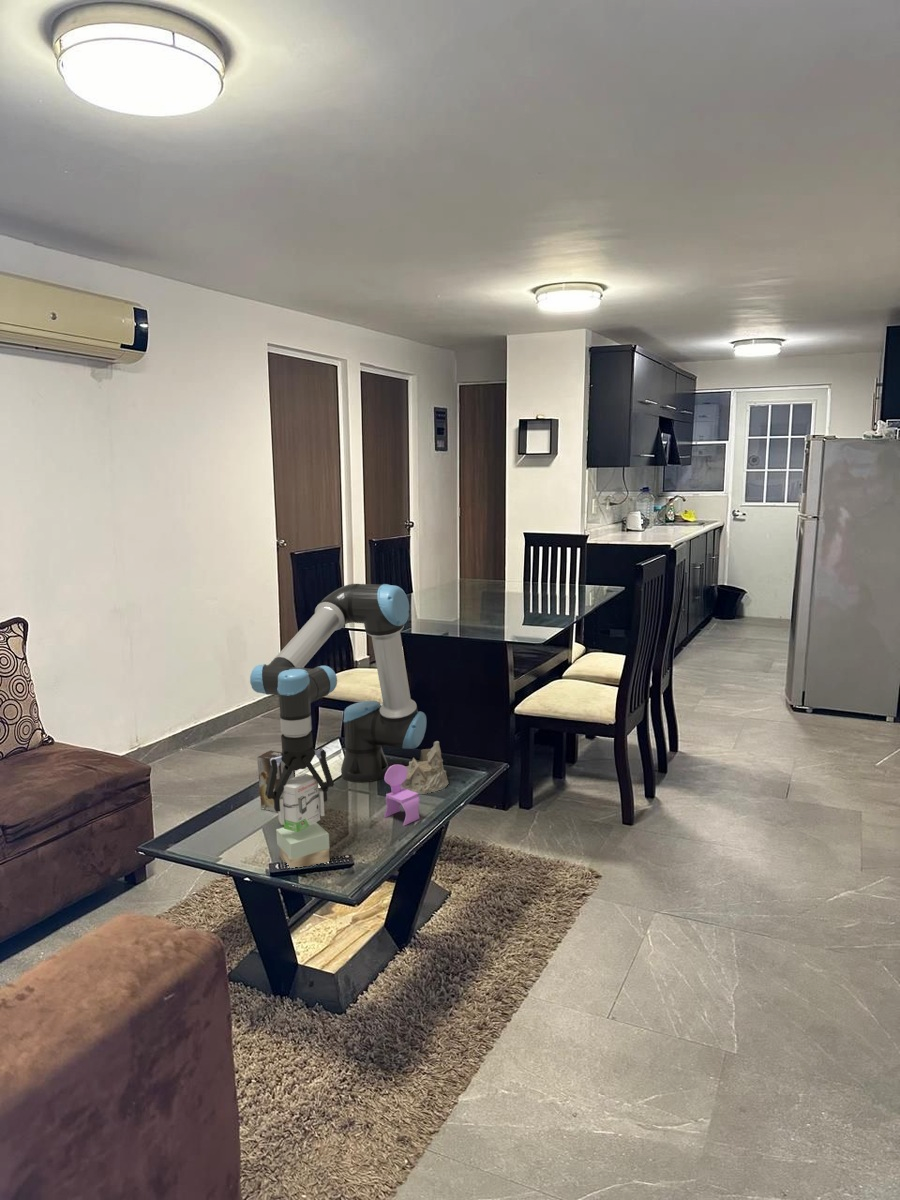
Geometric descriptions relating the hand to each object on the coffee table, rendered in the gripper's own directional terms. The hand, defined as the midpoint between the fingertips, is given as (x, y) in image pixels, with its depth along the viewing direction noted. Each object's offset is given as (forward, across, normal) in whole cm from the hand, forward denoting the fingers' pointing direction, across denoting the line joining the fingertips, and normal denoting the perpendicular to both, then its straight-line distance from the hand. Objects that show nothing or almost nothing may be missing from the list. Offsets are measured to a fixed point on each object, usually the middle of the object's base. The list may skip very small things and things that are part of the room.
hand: (301, 818), depth 204 cm
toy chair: (+11, -31, -11) cm, 35 cm away
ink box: (+2, 0, 0) cm, 2 cm away
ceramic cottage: (+12, -46, -31) cm, 57 cm away
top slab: (+8, 0, 0) cm, 8 cm away
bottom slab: (+12, 0, 0) cm, 12 cm away
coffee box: (+11, -2, -35) cm, 37 cm away
